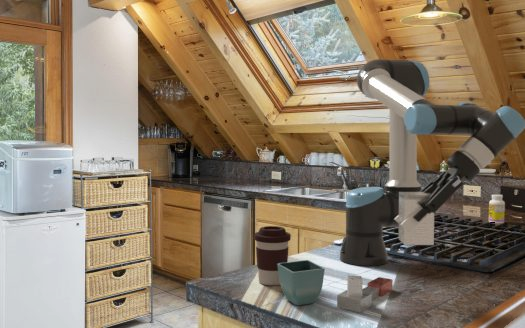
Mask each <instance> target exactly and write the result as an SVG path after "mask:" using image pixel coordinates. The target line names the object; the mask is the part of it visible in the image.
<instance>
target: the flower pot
mask: <svg viewBox="0 0 525 328" xmlns="http://www.w3.org/2000/svg"><path fill="white" fill-rule="evenodd" d="M277 265H278V274H279V281H280V285H279V286H280V288H281V290H282V293H283V295H284V296H285V298H286V301H287V300H288V301H289V302H290V303H292V304H293V305H294V306H301V305H308V304H314V303H315V302H316V300H317V299H318V298H319V296H320V295H321V292H322V290H323V284H324V277H325V270H326V269H325V267H323V266H321V265H319V264H317V263H314V262H313V261H311V260H308V259H304V260H295V261H287V262H286V263H278V264H277Z"/></svg>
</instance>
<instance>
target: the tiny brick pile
mask: <svg viewBox="0 0 525 328" xmlns="http://www.w3.org/2000/svg"><path fill="white" fill-rule="evenodd" d="M346 282H347V283H346V285H347V287H346V290H344V291H342V292H340V293H338V294H337V296H336V308H337V307H339V308H338V309H341V308H344V309H343V310H345V309H347V310H346V311H350V310H352V311H351V312H354V311H355V312H354V313H358V312H359V313H358V314H361V313H363V312H364V311H366V310H368V309H369V308H371V307H372V302H373V301H375V300H376V299H378V298H380V297H383V296H385V295H386V294H388V293H390V292H391V291H393V279H391V278H386V277H380V276H378V277H377V278H374V279H373V280H371V281H369V282H367V286H365V287H363V277H362V276H361V275H347V281H346Z"/></svg>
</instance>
